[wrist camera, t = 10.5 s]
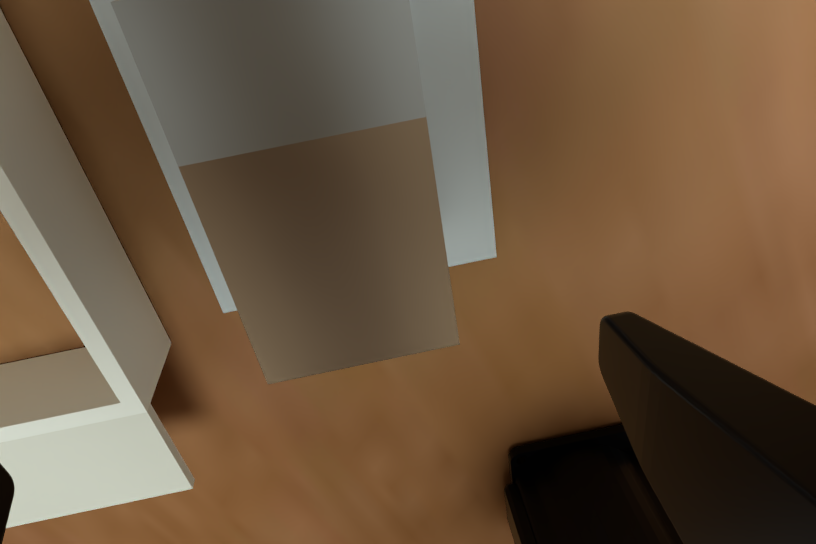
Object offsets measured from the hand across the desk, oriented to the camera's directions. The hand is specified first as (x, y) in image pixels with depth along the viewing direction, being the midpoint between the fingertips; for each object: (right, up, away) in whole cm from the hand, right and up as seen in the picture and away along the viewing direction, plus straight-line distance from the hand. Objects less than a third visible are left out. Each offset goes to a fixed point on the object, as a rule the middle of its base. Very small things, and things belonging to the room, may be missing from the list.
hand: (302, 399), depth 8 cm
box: (-1, +6, +9) cm, 11 cm away
